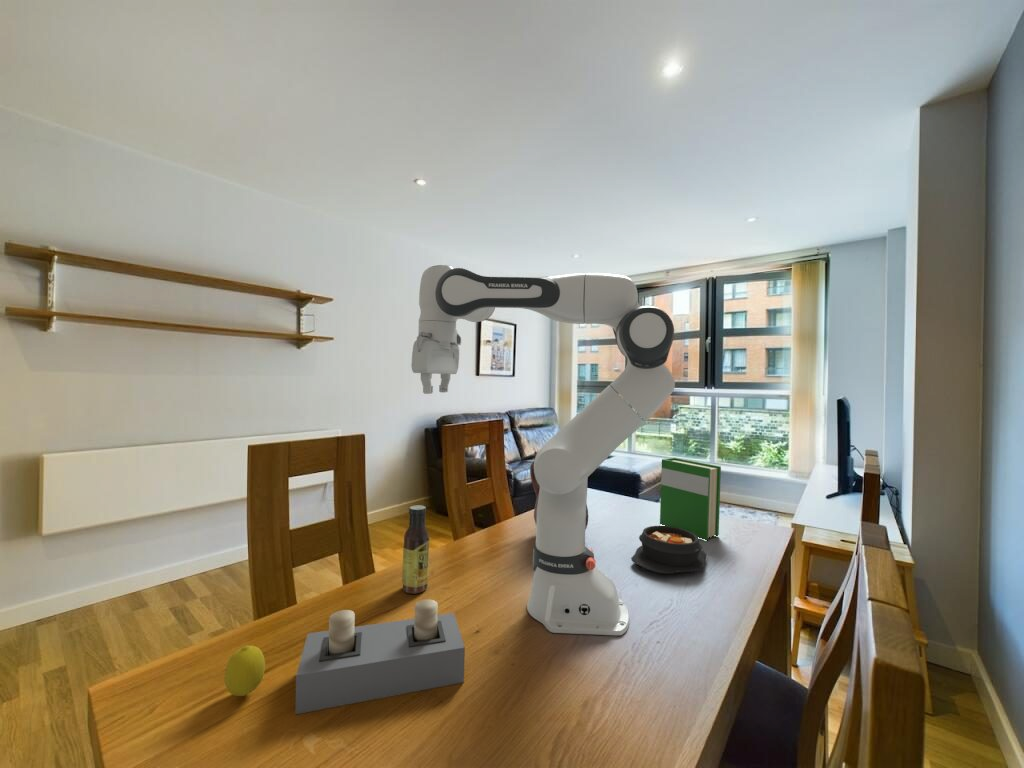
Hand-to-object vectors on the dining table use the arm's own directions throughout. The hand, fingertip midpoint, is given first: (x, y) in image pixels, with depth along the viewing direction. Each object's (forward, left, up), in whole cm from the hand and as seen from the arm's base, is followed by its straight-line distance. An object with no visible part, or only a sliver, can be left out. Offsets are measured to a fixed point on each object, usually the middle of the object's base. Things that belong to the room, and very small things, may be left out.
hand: (436, 393), depth 102 cm
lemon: (+15, +39, -48) cm, 64 cm away
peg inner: (-10, +25, -43) cm, 51 cm away
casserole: (-59, -33, -48) cm, 83 cm away
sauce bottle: (+4, 0, -48) cm, 48 cm away
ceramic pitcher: (-25, -43, -48) cm, 69 cm away
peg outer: (+2, +32, -43) cm, 54 cm away
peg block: (-4, +29, -48) cm, 56 cm away
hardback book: (-69, -62, -48) cm, 104 cm away
